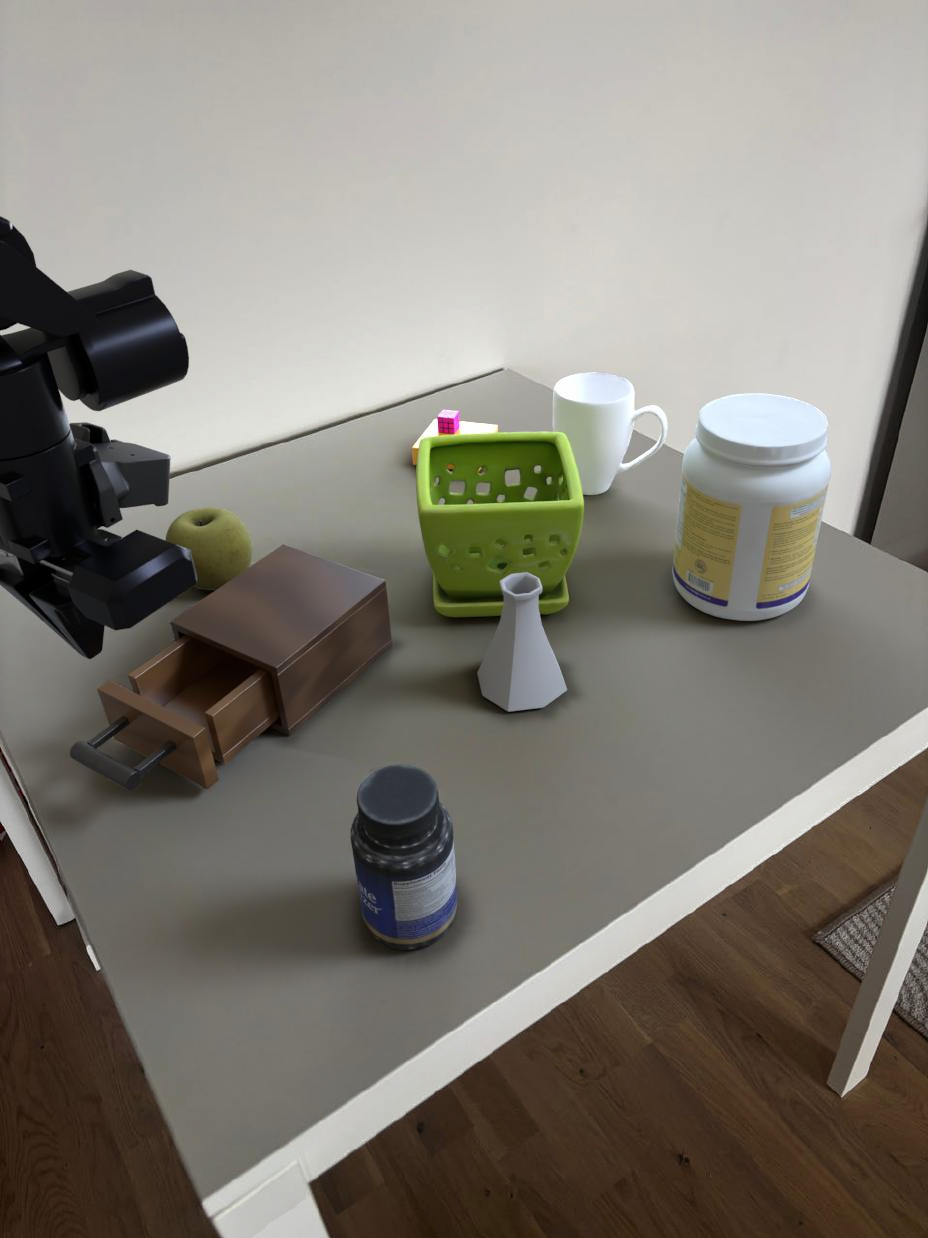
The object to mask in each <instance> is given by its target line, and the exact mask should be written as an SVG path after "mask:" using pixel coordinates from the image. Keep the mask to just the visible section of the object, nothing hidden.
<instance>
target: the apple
mask: <svg viewBox="0 0 928 1238" xmlns="http://www.w3.org/2000/svg"><path fill="white" fill-rule="evenodd" d="M164 540H165V541H168V542H171V543H173V544H176V545H178V546H181V547H183V548H186V549H188V550H191V553H192V557H193V561H194V565H195V569H196V573H197V584H196V585H194V586H193V587H192V588H195V589H199V590H205V591H216V590H217V589H218V588H220V587H221V586H223V585H224V584H226V583H227V582H229V581H230V580H232V579H233V578H235V577H236V576H238V575H239V574H240V573H242V572H243V571H245V570H246V569H248V568H249V567H251V562H252V558H253V544H252V538H251V536H250V533H249V531H248V529H247V527H246V526H245V524H244V523H243V522H242V520H241V519H240V518H239V517H238V516H236V515H235V514H234V513H233V512H231V511H229V510H227V509H224V508H221V507H211V506H210V507H209V506H208V507H198V508H194V509H190V510H188V511H186V512H183V513H181V514H180V515H179V516H177V517H176V518H175V519H174V520H173V521H172V522H171V523H170V525H169V527H168V529H167V531H166V534H165V539H164Z"/></svg>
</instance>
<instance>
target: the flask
mask: <svg viewBox="0 0 928 1238" xmlns="http://www.w3.org/2000/svg"><path fill="white" fill-rule="evenodd" d="M500 586H501V590H502V593H503V595H504V604H503V609H502V614H501V616H500V620H499V622H498V625H497V627H496V630H495V632H494V635H493V636H492V639H491V642H490V644H489V647H488V648H487V651H486V652H485V655H484V658H483V659H482V661H481V664H480V665H479V668H478V670H477V673H476V675H477V678H478V683H479V687H480V692H481V695H482V697H484V698H485V699H487V700H489V702H492V703H494V704H495V705H497V706H498V707H499V708H501V709H503V710H504V711H506V712H516V711H525V710H533V709H542V708H545V707H547V706H548V705H549V704H550V703H552V702H553V701H555V700H556V699H557V698H559V697H560V696H562V695H563V694H564V693H565V692H567V691H568V688H567V684H566V682H565V679H564V676H563V673H562V670H561V667H560V665H559V663H558V660H557V658H556V656H555V652H554V651H553V649H552V646H551V644H550V641H549V639H548V637H547V634H546V631H545V629H544V627H543V623H542V618H541V614H540V613H539V594H541V593H542V590H543V588H542V585H541V582H540V579H539V578H538V577H536V576H534V575H532V574H530V573H528V572H524V573H515V574H510V575H508V576H507V577H505V578H503V579H502V580H500Z"/></svg>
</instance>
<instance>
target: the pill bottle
mask: <svg viewBox="0 0 928 1238" xmlns="http://www.w3.org/2000/svg"><path fill="white" fill-rule="evenodd" d="M356 805H357V812H356V814H355V816H354V817H353V820H352V823H351V827H350V844H351V850H352V858H353V863H354V870H355V876H356V882H357V889H358V895H359V901H360V908H361V914H362V915H361V916H362V919H363V922H364V925H365V928H366V929H367V931H368V932H369V935H371V936H372V938H374V939H375V940H376V941H379V942H380V943H383V944H386V945H387V946H388V947H389V948H391V949H396V950H402V951H413V950H418V949H422V948H425V947H429V946H430V945H431V946H432V945H433V944H435V943H437V942H438V941H439V940H441V939H442V938H444V937H445V935H446V934H448V932H449V931H450V929H451V928H452V926H453V924H454V923H455V921H456V919H457V914H458V905H459V904H458V888H457V871H456V857H455V855H456V854H455V839H454V826H453V821H452V819H451V816H450V813H449V811H448V810H447V808H446V806H444V804H442V802H441V801H440V795H439V789H438V785H437V782H436V781H435V779H434V778H433V777H432V775H430V773H428V772H427V771H426V770H425V769H421V768H420V767H417V766H414V765H409V764H393V765H388V766H383V767H381V768H379V769H375V771H373V772H371V773H370V774H369V775H367V776H366V777H365V778H364V780H363V781H362V782H361V783H360V785H359V787H358V789H357V794H356Z"/></svg>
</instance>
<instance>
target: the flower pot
mask: <svg viewBox="0 0 928 1238" xmlns="http://www.w3.org/2000/svg"><path fill="white" fill-rule="evenodd" d="M449 464H452V465H453V466H454V469H452V471H450V469H447V466H448V465H449ZM538 466H539V467H540V470H539V471H535V468H536V467H538ZM481 467H482V468H484V469H485V470H484V471H483V472H482V473H480V471H479V472H478V469H479V468H481ZM482 468H481V469H482ZM507 471H518V472H519V482H518V483H511V484H507V483H506V473H507ZM436 478H438V482H437V483H435V480H436ZM548 478H551V479H550V480H551V481H550V482H548ZM451 482H463V483H464V490H463V491H462V492H450V486H451ZM481 483H482V484H489V491H488V492H485V493H483V492H477V487H478V484H481ZM528 488H534V489H536V492H535V493H534V496H533V497H527V496H525V494H526V491H527V489H528ZM415 492H416V493H415V494H416V495H415V496H416V506H417V514H418V521H419V527H420V528H419V529H420V534H421V539H422V543H423V549H424V551H425V555H426V559H427V562H428V564H429V567H430V569H431V571H432V574H433V575H432V600H433V607H434V609H435V611H436V612H438V613H439V614H440V615H443V616H445V617H448V618H475V617H476V618H477V617H478V618H479V617H501V614H502V609H503V604H504V595H503V593H502V590H501V586H500V580H502V579H503V578H505V577H507V576H508V575H510V574H515V573H524V572H528V573H530V574H532V575H534V576H536V577H538V578H539V579H540V582H541V585H542V588H543V590H542V593H541V594H539V613H540V615H545V616H548V615H550V614H555V613H557V612H559V611H562V610H563V609H564V608H566V607H567V606H568V604H569V602H570V596H569V590H568V589H569V588H568V584H567V578H566V574H567V572H568V571H569V568H570V566H571V564H572V562H573V560H574V557H575V554H576V551H577V548H578V545H579V542H580V537H581V534H582V528H583V521H584V512H585V499H584V495H583V493H582V487H581V482H580V477H579V473H578V469H577V466H576V462H575V459H574V455H573V452H572V449H571V446H570V443H569V441H568V439H567V436H566V435H565V434H564V433H562V432H553V431H514V432H513V431H512V432H511V431H510V432H505V431H504V432H498V433H477V434H456V435H442V436H431V437H424V438H422V439H421V440H420V443H419V448H418V455H417V465H416V469H415ZM501 495H503V496H504V499H503V500H498V497H499V496H501ZM441 499H443V500H444V502H443V503H442V504H440V503H439V502H440V500H441ZM469 501H472V503H471V504H469V503H468V502H469Z"/></svg>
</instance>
